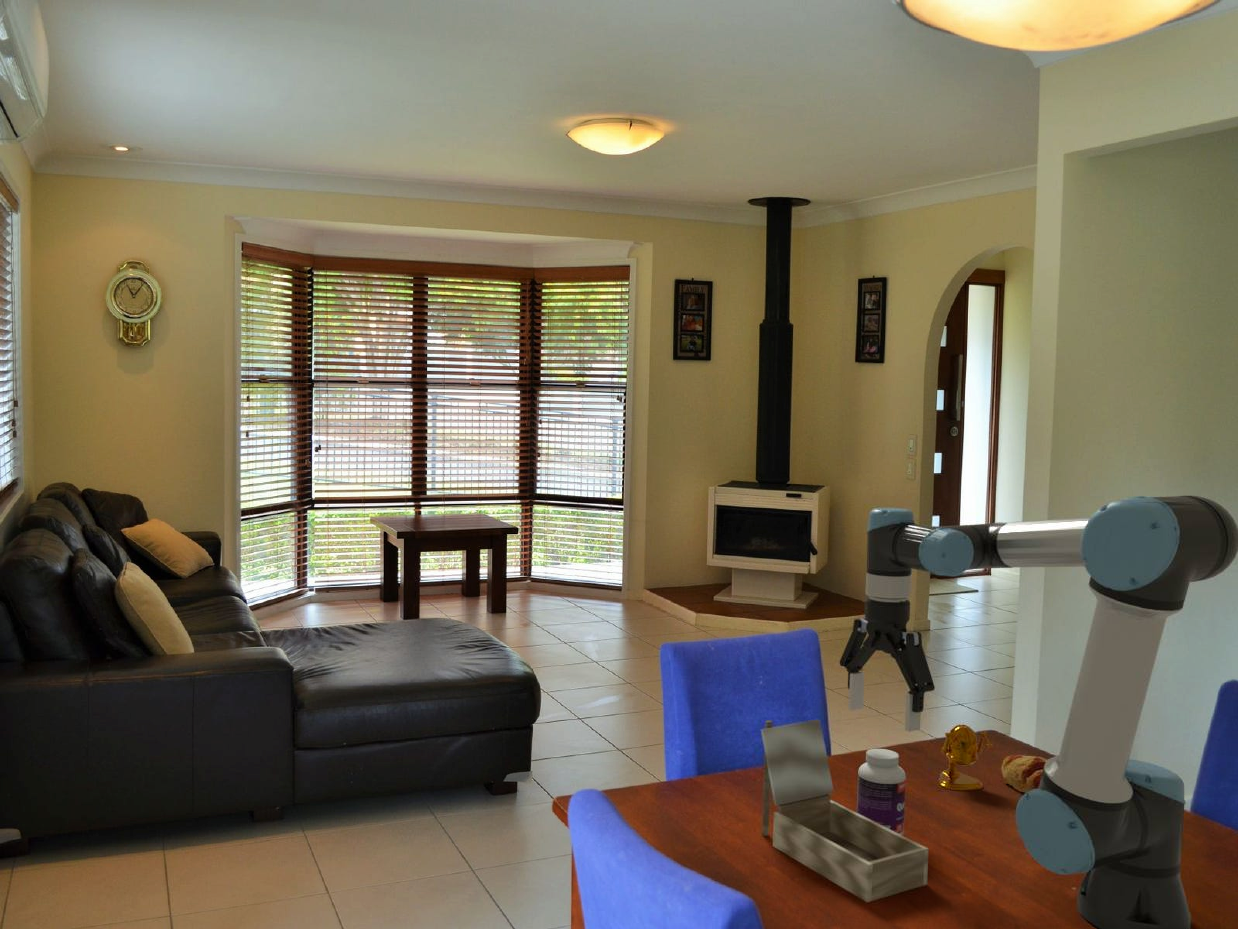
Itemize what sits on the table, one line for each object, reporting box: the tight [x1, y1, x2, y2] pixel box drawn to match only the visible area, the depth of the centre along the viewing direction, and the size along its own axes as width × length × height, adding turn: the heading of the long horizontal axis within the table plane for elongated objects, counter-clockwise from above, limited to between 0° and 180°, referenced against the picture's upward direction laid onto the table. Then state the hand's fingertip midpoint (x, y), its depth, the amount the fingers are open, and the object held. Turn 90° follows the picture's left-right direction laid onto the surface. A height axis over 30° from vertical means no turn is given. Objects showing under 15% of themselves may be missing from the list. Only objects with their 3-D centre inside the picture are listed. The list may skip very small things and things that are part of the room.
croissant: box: [1001, 754, 1048, 794], centre depth 212 cm, size 21×10×8 cm, turn 7°
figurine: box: [938, 724, 994, 792], centre depth 213 cm, size 9×11×12 cm
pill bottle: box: [856, 748, 907, 836], centre depth 187 cm, size 8×8×14 cm
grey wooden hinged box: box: [760, 718, 929, 903], centre depth 177 cm, size 28×13×20 cm, turn 31°
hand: (883, 719), depth 186 cm, fingers open, 13 cm apart
